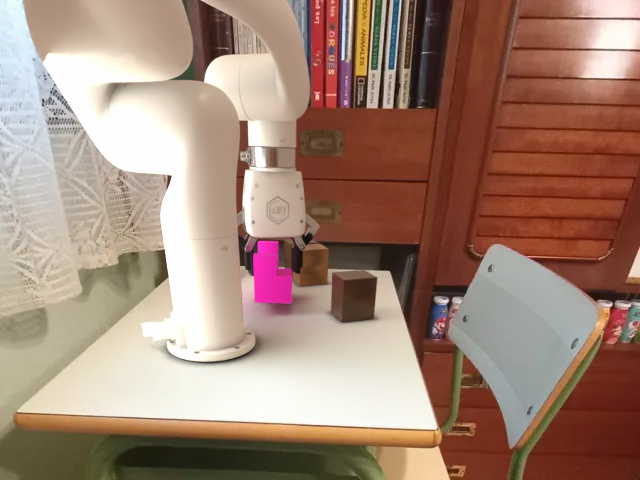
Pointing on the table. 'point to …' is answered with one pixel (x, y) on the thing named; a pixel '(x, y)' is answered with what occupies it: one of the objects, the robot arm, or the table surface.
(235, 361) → the table surface
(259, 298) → the toy block
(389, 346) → the table surface
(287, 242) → the line block
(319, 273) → the block
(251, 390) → the table surface
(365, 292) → the line block
